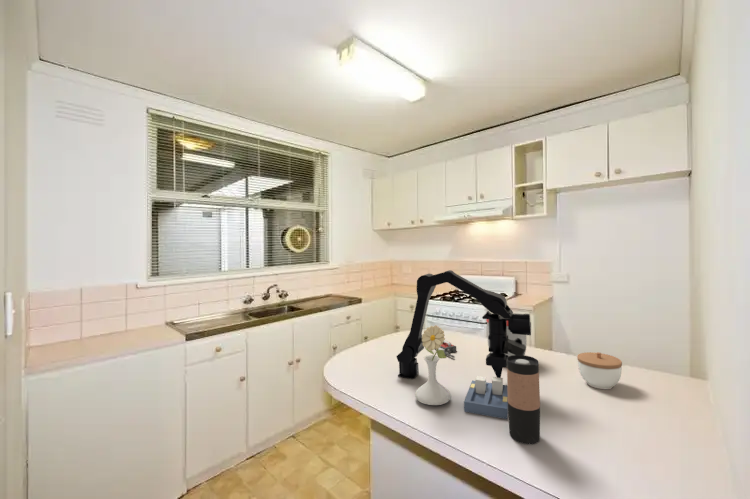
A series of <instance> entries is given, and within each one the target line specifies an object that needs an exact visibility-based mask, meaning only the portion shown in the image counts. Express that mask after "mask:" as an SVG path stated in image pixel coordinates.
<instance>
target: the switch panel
mask: <svg viewBox="0 0 750 499" xmlns="http://www.w3.org/2000/svg"><path fill="white" fill-rule="evenodd" d="M486 389H487V390H486V393H485V394H478V393H476V385H475V380H472V381H471V383H470V385H469V388H468V390H467V392H466V396H465V398H464V399H463V400H464V401H463V412H466V413H471V414H476V415H481V416H486V417H487V416H488V417H491V418H492V417H493V418H499V419H505V420H508V419H509V415H508V392H507V384H503V395H496V394H492V382H487V381H486Z"/></svg>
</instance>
